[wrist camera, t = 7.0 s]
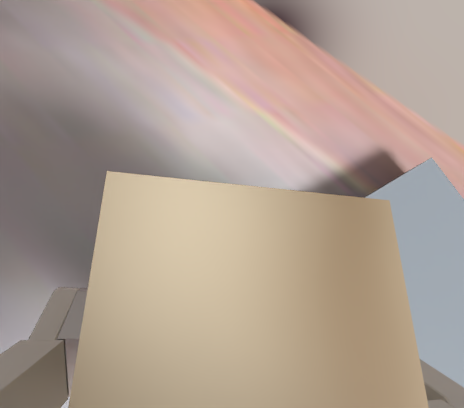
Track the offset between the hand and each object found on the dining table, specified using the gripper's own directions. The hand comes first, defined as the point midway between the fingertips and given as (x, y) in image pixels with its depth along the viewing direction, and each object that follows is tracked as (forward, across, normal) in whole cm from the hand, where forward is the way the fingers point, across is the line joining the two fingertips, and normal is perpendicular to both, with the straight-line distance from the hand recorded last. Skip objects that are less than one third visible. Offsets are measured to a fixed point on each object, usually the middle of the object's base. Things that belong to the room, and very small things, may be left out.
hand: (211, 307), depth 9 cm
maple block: (+3, 0, +4) cm, 5 cm away
